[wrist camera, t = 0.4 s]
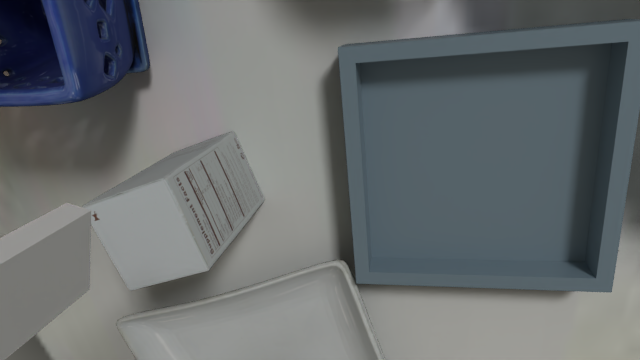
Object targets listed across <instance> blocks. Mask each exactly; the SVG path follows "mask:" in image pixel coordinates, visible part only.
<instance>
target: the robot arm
mask: <svg viewBox="0 0 640 360" xmlns="http://www.w3.org/2000/svg"><path fill="white" fill-rule="evenodd" d="M90 244H91V210H88V209H85V208H82V207H79V206H76V205H73V204H70V203H65V204H63V205H61V206H60V207H58V208H56V209H54V210H52V211H50V212H48V213H46V214H44V215H42V216H41V217H39V218H37V219H35V220H33V221H31V222H29V223H27V224H25V225H24V226H22V227H20V228H18V229H16V230H14V231H12V232H10V233H8V234H7V235H5V236H3V237H1V238H0V360H5V359H6V358H7V357H9V356H10V355H11V354H12V353H13V352H15V351H16V350H17V349H18V348H20V347H21V346H22V345H23V344H24V343H26V342H27V341H28V340H29V339H30V338H32V337H33V336H34V335H35V334H36V333H38V332H39V331H40V330H41V329H42V328H44V327H45V326H46V325H47V324H48V323H50V322H51V321H52V320H53V319H55V318H56V317H57V316H58V315H59V314H61V313H62V312H63V311H64V310H65V309H67V308H68V307H69V306H70V305H71V304H73V303H74V302H75V301H76V300H77V299H79V298H80V297H81V296H82V295H83V294H85V293H86V292H87V291H88V290H89V288H90Z"/></svg>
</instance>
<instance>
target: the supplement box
mask: <svg viewBox="0 0 640 360" xmlns="http://www.w3.org/2000/svg"><path fill="white" fill-rule="evenodd" d="M263 202H264V198H263V196H262V193H261V191H260V188H259V186H258V184H257V182H256V179H255V177H254V175H253V173H252V170H251V168H250V166H249V164H248V161H247V159H246V157H245V154H244V152H243V150H242V148H241V145H240V143H239V141H238V139H237V137H236V135H235V133H234V132H229V133H226V134H223V135H220V136H218V137H215V138H212V139H209V140H206V141H204V142H201V143H198V144H196V145H193V146H190V147H188V148H185V149H182V150H180V151H177V152H175V153H172V154H170V155H169V156H167V157H165V158H164V159H162V160H160V161H158V162H157V163H155V164H153V165H152V166H150V167H148V168H146V169H145V170H143V171H141V172H140V173H138V174H136V175H134V176H133V177H131V178H129V179H128V180H126V181H124V182H122V183H121V184H119V185H117V186H116V187H114V188H112V189H110V190H109V191H107V192H105V193H104V194H102V195H100V196H98V197H97V198H95V199H93V200H92V201H90V202H88V203H87V204H85V205H83V206H82V208H85V209H88V210H91V225H92V227H93V229H94V231H95V232H96V234H97V236H98V238H99V239H100V241H101V243H102V245H103V246H104V248H105V250H106V251H107V253H108V255H109V257H110V258H111V260H112V262H113V264H114V265H115V267H116V269H117V270H118V272H119V274H120V276H121V277H122V279H123V281H124V283H125V284H126V286H127V287H128V289H129V290H130V291H132V290H136V289H140V288H144V287H148V286H152V285H156V284H160V283H163V282H167V281H171V280H175V279H179V278H183V277H186V276H190V275H194V274H198V273H202V272H206V271H209V270H210V268H211V267H212V266H213V264H214V263H215V262H216V261H217V260H218V258H219V257H220V256H221V255H222V253H223V252H224V251H225V249H226V248H227V247H228V246H229V245H230V243H231V242H232V241H233V240H234V238H235V237H236V236H237V235H238V233H239V232H240V231H241V230H242V228H243V227H244V226H245V225H246V223H247V222H248V221H249V220H250V218H251V217H252V216H253V215H254V213H255V212H256V211H257V209H258V208H259V207H260V206H261V204H262V203H263Z"/></svg>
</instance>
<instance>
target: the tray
mask: <svg viewBox="0 0 640 360" xmlns="http://www.w3.org/2000/svg"><path fill="white" fill-rule="evenodd" d="M338 56H339V68H340V81H341V94H342V107H343V120H344V133H345V145H346V158H347V171H348V184H349V197H350V210H351V222H352V235H353V248H354V261H355V274H356V284H384V285H413V286H441V287H470V288H499V289H528V290H557V291H586V292H612V286H613V280H614V273H615V267H616V260H617V254H618V247H619V240H620V234H621V227H622V221H623V214H624V208H625V201H626V194H627V188H628V181H629V175H630V168H631V162H632V155H633V149H634V142H635V135H636V129H637V122H638V116H639V109H640V19H624V20H613V21H602V22H591V23H579V24H568V25H557V26H546V27H534V28H523V29H512V30H501V31H490V32H478V33H467V34H456V35H445V36H433V37H422V38H411V39H400V40H388V41H377V42H366V43H355V44H345V45H342V46H340V47H338Z"/></svg>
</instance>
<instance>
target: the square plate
mask: <svg viewBox="0 0 640 360" xmlns="http://www.w3.org/2000/svg"><path fill="white" fill-rule="evenodd" d="M116 326H117V328H118V330H119V332H120V334H121V335H122V337H123V339H124V340H125V342H126V344H127V345H128V347H129V349H130V350H131V352H132V354H133V355H134V357H135V359H136V360H386V359H385V357H384V354H383V352H382V349H381V347H380V344H379V342H378V339H377V337H376V334H375V332H374V329H373V326H372V323H371V321H370V318H369V315H368V313H367V310H366V307H365V305H364V302H363V300H362V297H361V294H360V292H359V289H358V287H357V284H356V282H355V280H354V277H353V275H352V273H351V271H350V269H349V267H348V265H347V264H346V262H344V261H343V260H334V261H329V262H325V263H321V264H317V265H314V266H311V267H308V268H304V269H301V270H298V271H295V272H292V273H289V274H286V275H283V276H280V277H276V278H273V279H270V280H267V281H264V282H261V283H258V284H254V285H251V286H248V287H244V288H241V289H238V290H234V291H231V292H227V293H224V294H220V295H217V296H213V297H209V298H205V299H201V300H197V301H192V302H187V303H183V304H178V305H174V306H169V307H164V308H159V309H154V310H149V311H144V312H140V313H135V314H131V315H128V316H125V317H122V318H121V319H119V320H118V321H117V323H116Z"/></svg>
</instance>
